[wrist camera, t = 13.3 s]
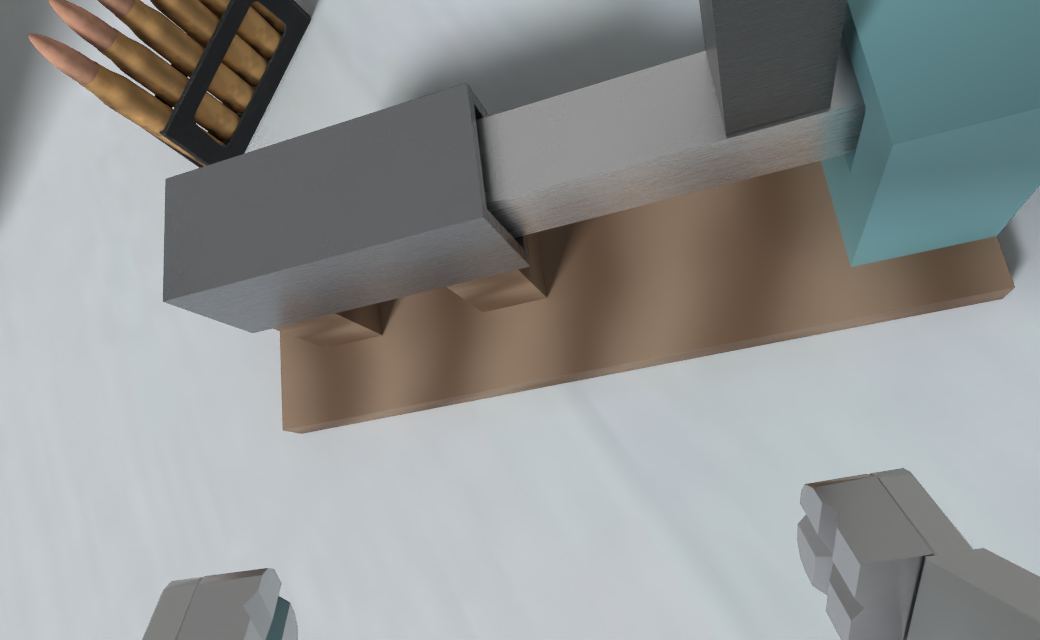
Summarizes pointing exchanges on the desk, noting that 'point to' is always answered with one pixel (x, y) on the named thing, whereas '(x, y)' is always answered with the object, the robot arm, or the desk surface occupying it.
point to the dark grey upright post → (681, 119)
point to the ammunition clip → (186, 66)
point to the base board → (623, 303)
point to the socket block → (938, 124)
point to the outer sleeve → (337, 218)
